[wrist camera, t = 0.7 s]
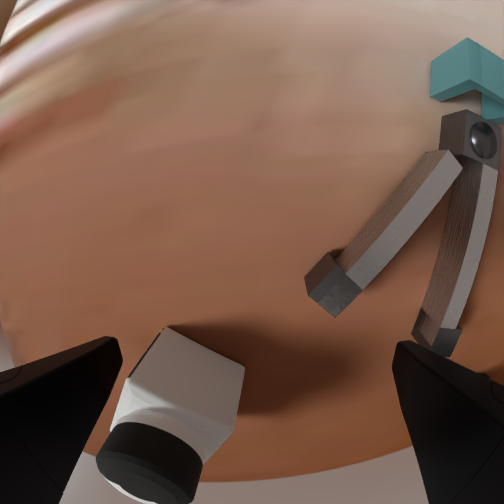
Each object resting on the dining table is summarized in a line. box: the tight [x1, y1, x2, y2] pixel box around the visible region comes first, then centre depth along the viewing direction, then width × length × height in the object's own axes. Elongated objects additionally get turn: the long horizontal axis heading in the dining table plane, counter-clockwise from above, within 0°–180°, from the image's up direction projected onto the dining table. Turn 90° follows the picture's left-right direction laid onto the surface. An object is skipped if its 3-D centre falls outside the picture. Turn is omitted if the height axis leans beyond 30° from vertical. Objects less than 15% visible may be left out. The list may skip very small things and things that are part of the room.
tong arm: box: [304, 150, 463, 318], centre depth 16 cm, size 12×2×3 cm, turn 141°
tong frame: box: [411, 109, 501, 357], centre depth 16 cm, size 16×4×3 cm, turn 171°
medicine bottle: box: [96, 327, 245, 504], centre depth 17 cm, size 7×7×12 cm
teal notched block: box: [430, 38, 504, 125], centre depth 12 cm, size 3×6×5 cm, turn 80°
